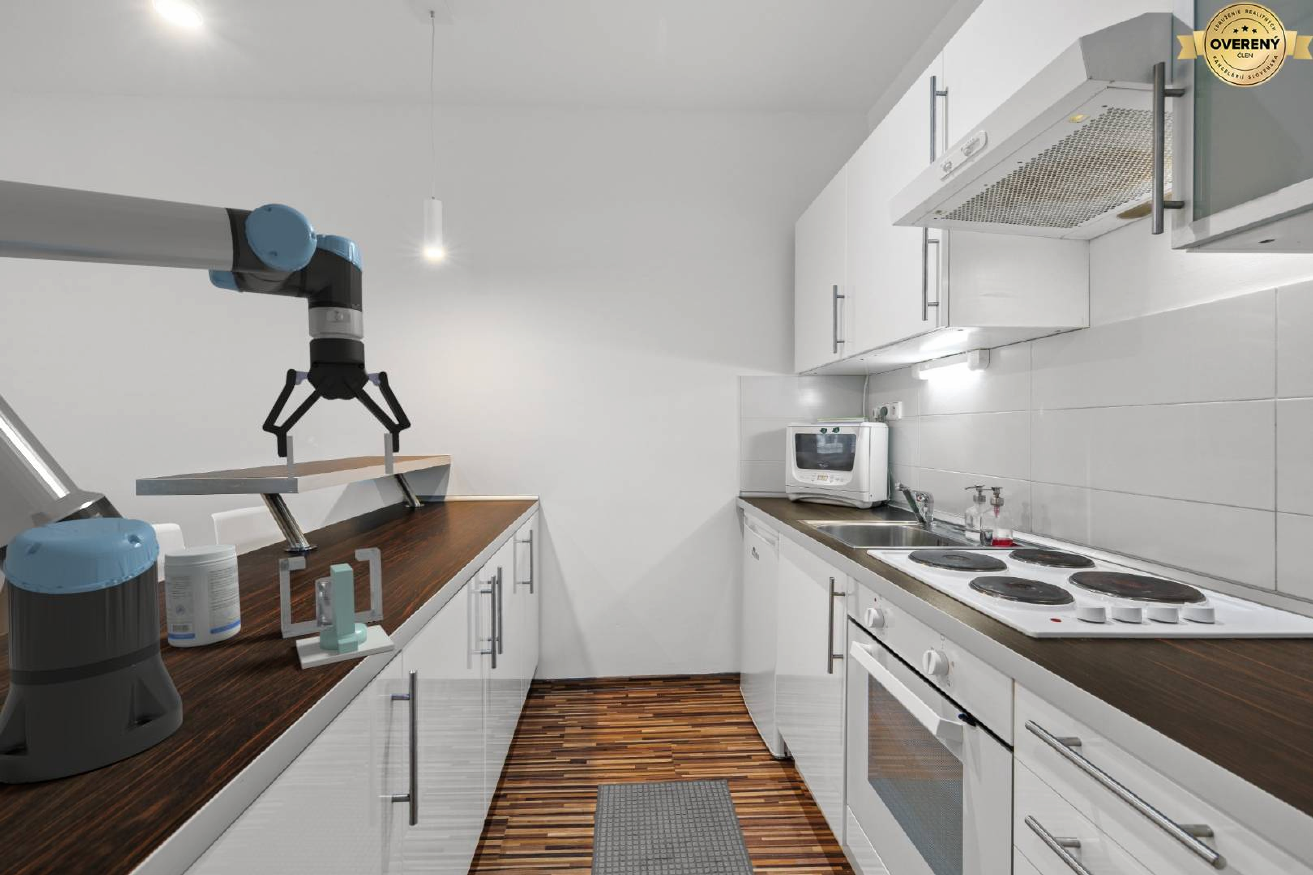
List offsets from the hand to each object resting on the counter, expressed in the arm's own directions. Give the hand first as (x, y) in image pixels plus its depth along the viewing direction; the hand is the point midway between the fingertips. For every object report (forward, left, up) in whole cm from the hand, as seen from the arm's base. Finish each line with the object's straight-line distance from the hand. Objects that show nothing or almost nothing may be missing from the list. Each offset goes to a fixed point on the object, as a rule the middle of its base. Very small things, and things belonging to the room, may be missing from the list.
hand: (342, 476), depth 93 cm
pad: (-1, -1, -26) cm, 26 cm away
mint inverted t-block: (-1, -1, -25) cm, 25 cm away
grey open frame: (-1, +13, -26) cm, 29 cm away
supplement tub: (-19, +19, -26) cm, 37 cm away
